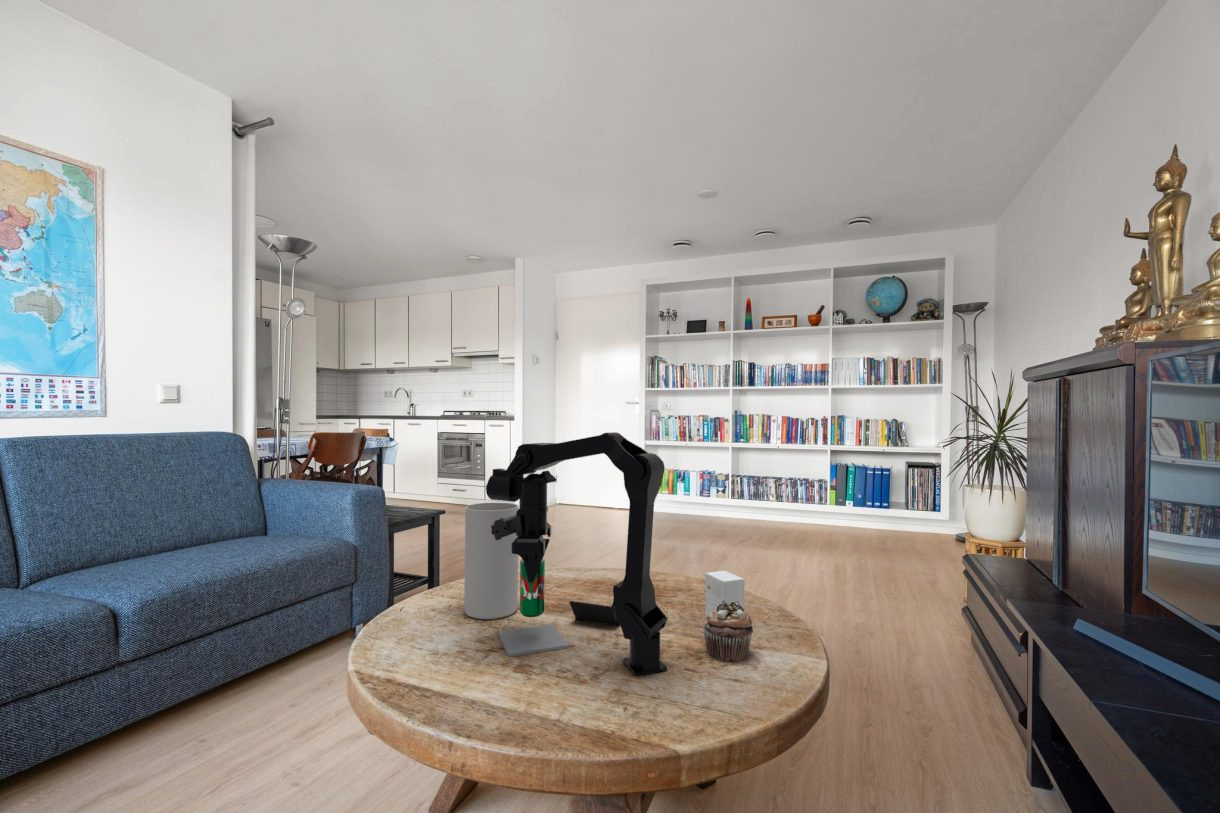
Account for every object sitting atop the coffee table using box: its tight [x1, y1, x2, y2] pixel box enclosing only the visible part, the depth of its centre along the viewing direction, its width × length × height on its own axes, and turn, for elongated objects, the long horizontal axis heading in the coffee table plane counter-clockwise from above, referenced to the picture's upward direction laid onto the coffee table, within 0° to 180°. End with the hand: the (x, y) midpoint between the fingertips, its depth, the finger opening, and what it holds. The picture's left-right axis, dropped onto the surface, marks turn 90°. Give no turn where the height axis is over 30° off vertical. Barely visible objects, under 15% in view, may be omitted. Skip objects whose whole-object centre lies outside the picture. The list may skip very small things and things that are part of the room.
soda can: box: [519, 558, 546, 618], centre depth 118 cm, size 5×5×12 cm
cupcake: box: [702, 601, 754, 662], centre depth 112 cm, size 10×10×10 cm
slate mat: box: [497, 624, 569, 658], centre depth 117 cm, size 12×12×1 cm
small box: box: [704, 570, 746, 618], centre depth 130 cm, size 8×6×10 cm
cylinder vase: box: [463, 501, 519, 620], centre depth 135 cm, size 12×12×25 cm
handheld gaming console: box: [569, 600, 621, 628], centre depth 129 cm, size 12×7×10 cm
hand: (532, 578), depth 118 cm, fingers closed on soda can, 5 cm apart
